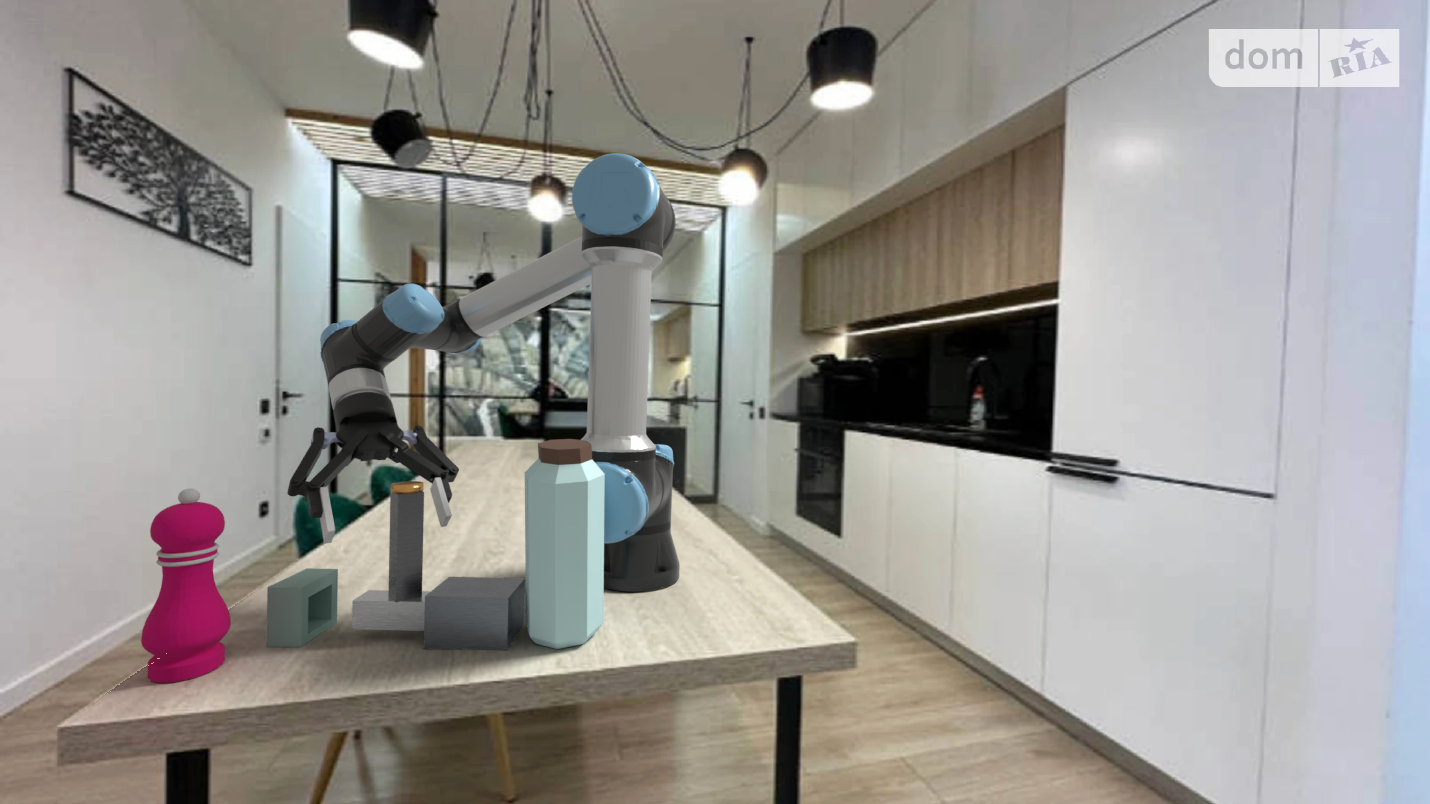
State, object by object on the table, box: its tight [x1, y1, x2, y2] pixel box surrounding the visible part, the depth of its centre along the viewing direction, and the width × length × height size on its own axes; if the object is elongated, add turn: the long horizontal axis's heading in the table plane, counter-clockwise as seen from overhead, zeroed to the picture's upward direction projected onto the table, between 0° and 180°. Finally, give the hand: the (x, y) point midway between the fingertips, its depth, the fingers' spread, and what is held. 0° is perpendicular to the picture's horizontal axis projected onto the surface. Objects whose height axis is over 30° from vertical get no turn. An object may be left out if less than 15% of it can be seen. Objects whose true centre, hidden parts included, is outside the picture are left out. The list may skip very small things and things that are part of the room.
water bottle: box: [524, 438, 605, 650], centre depth 73 cm, size 10×10×25 cm
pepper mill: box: [140, 488, 232, 684], centre depth 62 cm, size 7×7×20 cm
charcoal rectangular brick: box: [423, 576, 526, 651], centre depth 73 cm, size 10×7×6 cm
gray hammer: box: [351, 480, 432, 632], centre depth 72 cm, size 18×4×18 cm, turn 93°
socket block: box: [266, 567, 339, 648], centre depth 72 cm, size 4×7×7 cm, turn 3°
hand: (391, 529), depth 74 cm, fingers open, 13 cm apart
